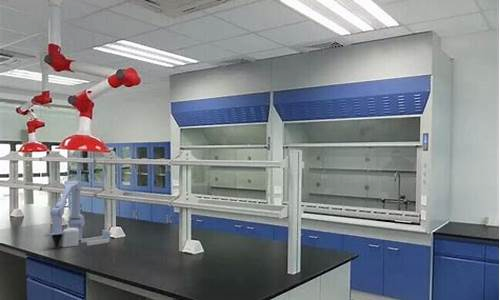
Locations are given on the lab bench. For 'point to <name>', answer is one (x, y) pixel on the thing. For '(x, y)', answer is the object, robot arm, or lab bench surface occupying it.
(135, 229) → the lab bench surface
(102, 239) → the display stand
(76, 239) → the photo printer
